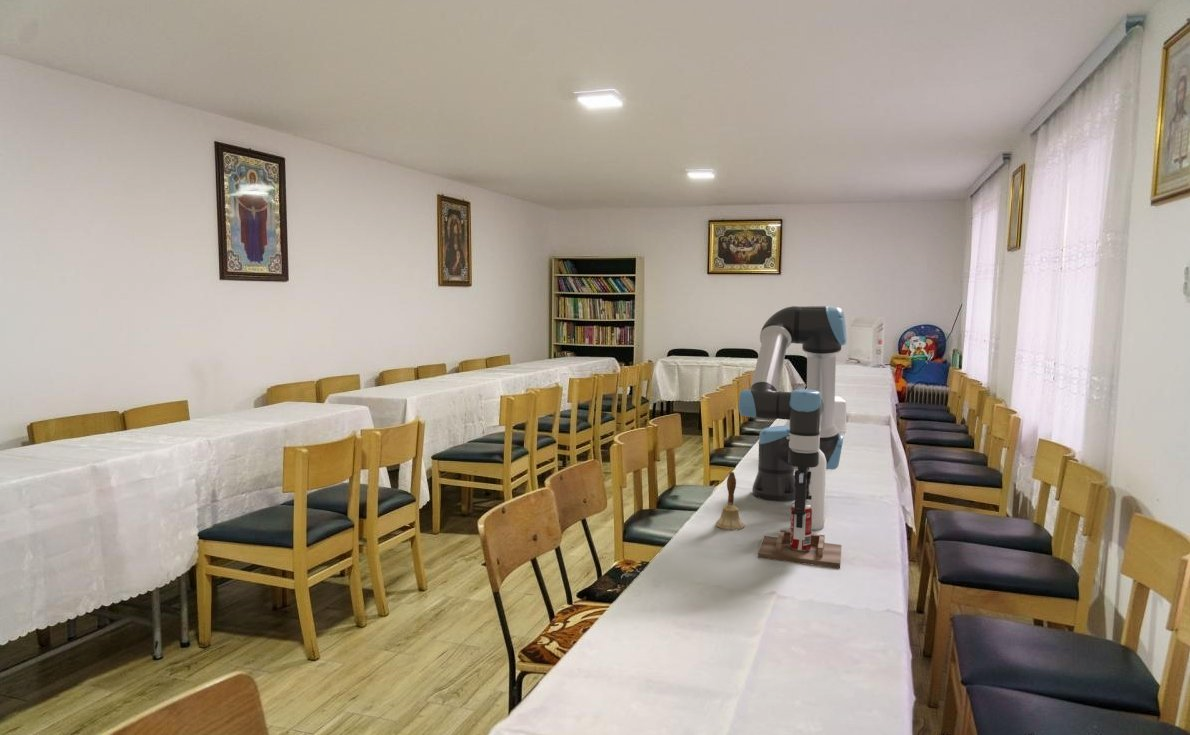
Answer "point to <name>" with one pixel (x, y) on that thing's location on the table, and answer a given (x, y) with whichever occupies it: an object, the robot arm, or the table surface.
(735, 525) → the hand bell
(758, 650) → the table surface
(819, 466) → the bottle
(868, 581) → the table surface
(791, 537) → the soda can
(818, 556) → the can rest
